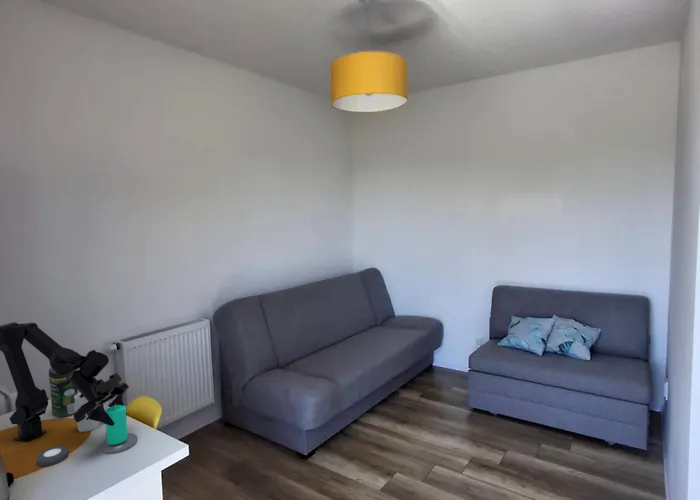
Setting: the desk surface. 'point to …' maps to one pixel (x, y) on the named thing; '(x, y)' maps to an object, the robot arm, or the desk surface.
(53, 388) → the coffee jar
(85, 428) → the mug
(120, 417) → the candle
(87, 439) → the desk surface
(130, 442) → the slate coaster
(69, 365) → the robot arm
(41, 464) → the dark grey washer
